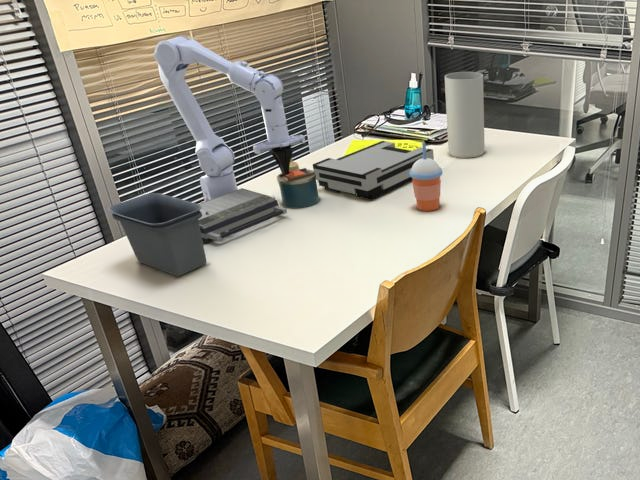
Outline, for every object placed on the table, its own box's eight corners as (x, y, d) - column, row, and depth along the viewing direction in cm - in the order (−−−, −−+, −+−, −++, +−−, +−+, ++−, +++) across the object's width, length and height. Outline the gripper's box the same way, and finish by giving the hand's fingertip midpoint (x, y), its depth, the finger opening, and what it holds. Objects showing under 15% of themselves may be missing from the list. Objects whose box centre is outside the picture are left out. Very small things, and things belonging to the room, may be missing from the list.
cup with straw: (439, 214, 181) (435, 148, 170) (408, 212, 182) (402, 147, 172) (447, 202, 188) (444, 138, 178) (417, 200, 190) (412, 137, 179)
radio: (240, 185, 189) (286, 198, 179) (244, 202, 192) (289, 216, 182) (163, 212, 173) (209, 228, 163) (169, 231, 176) (215, 248, 166)
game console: (434, 171, 211) (432, 145, 206) (369, 203, 189) (365, 175, 184) (384, 161, 220) (382, 137, 216) (317, 191, 198) (312, 164, 194)
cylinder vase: (444, 150, 229) (440, 73, 215) (478, 146, 232) (476, 70, 218) (454, 160, 219) (450, 81, 205) (489, 156, 222) (488, 77, 208)
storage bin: (121, 263, 159) (100, 207, 151) (176, 241, 170) (160, 187, 162) (174, 285, 149) (155, 226, 141) (230, 259, 160) (215, 203, 152)
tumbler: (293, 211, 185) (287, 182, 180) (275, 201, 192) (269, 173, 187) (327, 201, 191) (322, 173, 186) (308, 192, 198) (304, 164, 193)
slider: (291, 178, 184) (290, 172, 183) (284, 175, 187) (283, 169, 186) (305, 174, 187) (304, 168, 186) (299, 171, 189) (297, 165, 188)
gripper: (257, 132, 171) (268, 183, 178) (306, 121, 178) (315, 170, 186) (245, 127, 175) (256, 177, 183) (294, 117, 183) (303, 165, 190)
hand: (285, 173), depth 185 cm, fingers closed
